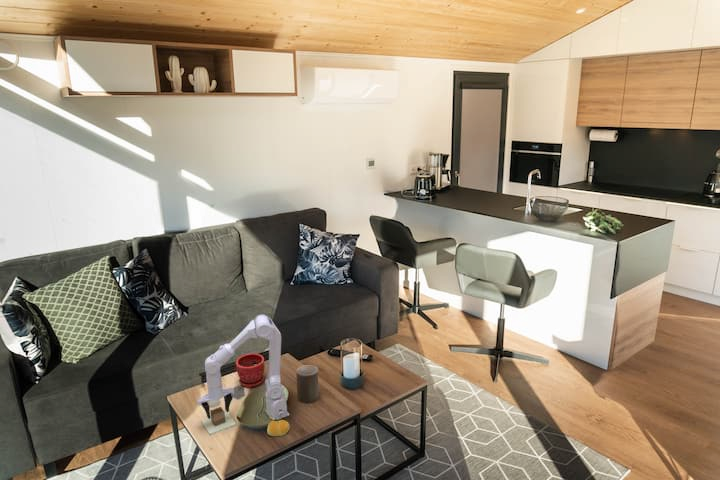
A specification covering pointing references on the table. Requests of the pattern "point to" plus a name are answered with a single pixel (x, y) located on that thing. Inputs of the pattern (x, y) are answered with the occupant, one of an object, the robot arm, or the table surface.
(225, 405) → the robot arm
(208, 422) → the plate
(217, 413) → the walnut block
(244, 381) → the plant pot
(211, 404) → the white rounded dome
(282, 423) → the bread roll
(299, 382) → the pillar candle
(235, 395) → the grey metal block
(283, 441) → the table surface
